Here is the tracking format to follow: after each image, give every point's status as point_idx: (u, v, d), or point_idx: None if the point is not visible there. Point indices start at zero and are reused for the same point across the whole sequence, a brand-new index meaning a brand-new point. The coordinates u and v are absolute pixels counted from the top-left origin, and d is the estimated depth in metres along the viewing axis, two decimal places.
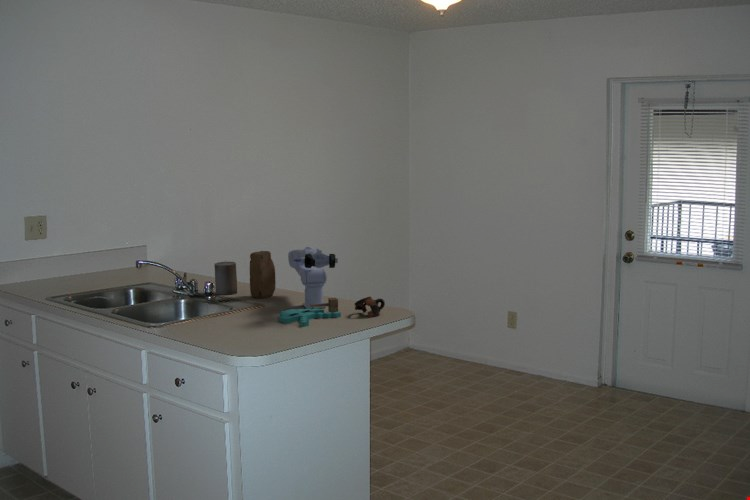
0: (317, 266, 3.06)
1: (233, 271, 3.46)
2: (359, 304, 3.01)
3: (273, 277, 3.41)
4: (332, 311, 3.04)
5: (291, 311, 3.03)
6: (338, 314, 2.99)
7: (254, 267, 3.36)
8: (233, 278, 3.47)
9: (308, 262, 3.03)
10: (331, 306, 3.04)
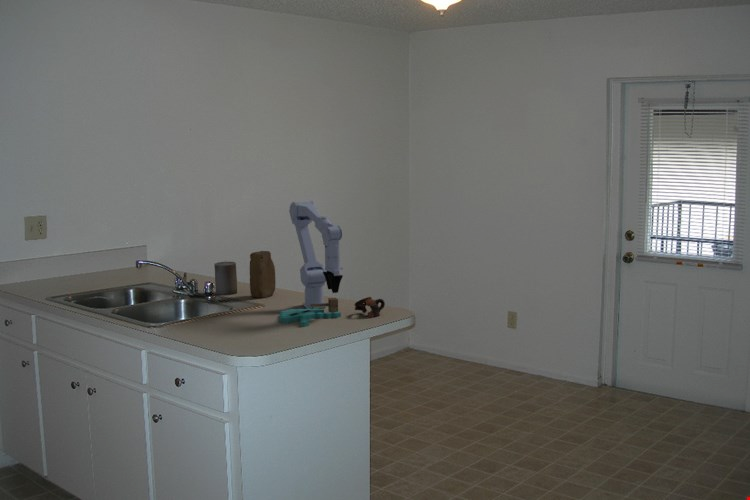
0: None
1: (233, 271, 3.46)
2: (359, 304, 3.00)
3: (273, 277, 3.41)
4: (332, 311, 3.04)
5: (291, 311, 3.03)
6: (338, 314, 2.99)
7: (254, 267, 3.36)
8: (233, 278, 3.47)
9: (334, 276, 2.99)
10: (331, 306, 3.04)
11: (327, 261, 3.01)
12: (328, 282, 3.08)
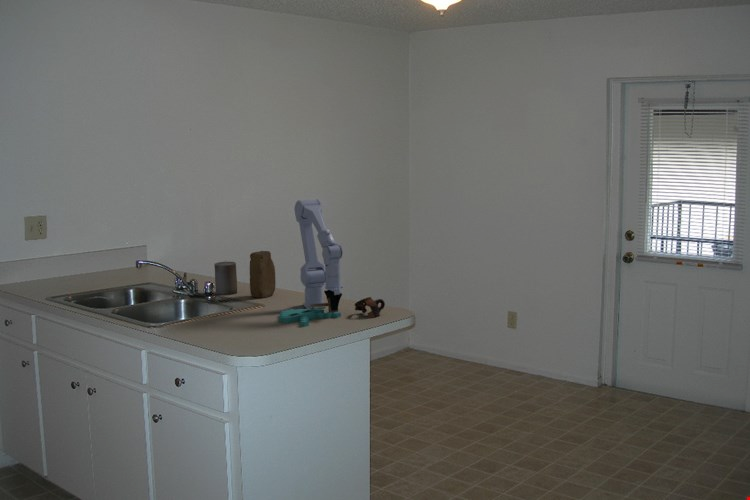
0: (327, 289, 3.03)
1: (233, 271, 3.46)
2: (359, 305, 3.00)
3: (273, 277, 3.41)
4: (332, 311, 3.04)
5: (291, 311, 3.03)
6: (338, 314, 2.99)
7: (254, 267, 3.36)
8: (233, 278, 3.47)
9: None
10: None
11: (327, 280, 3.02)
12: None
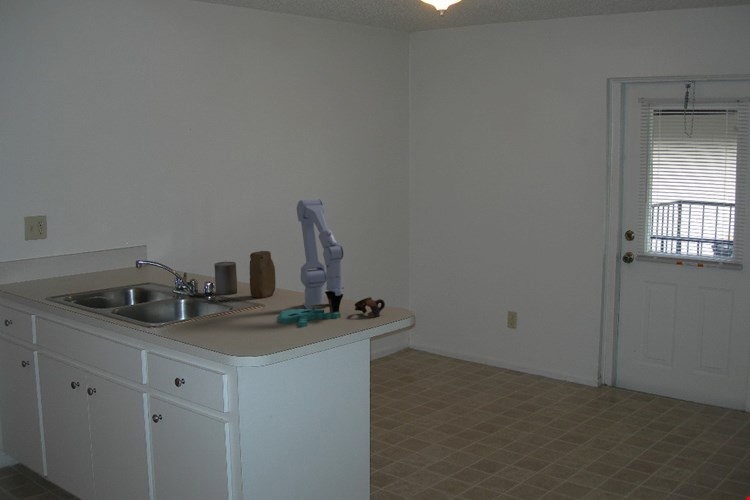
0: (328, 289, 3.02)
1: (233, 271, 3.46)
2: (359, 305, 2.99)
3: (273, 277, 3.41)
4: (333, 312, 3.02)
5: (291, 311, 3.02)
6: (338, 315, 2.98)
7: (254, 267, 3.36)
8: (233, 278, 3.47)
9: (334, 295, 3.00)
10: None
11: (328, 281, 3.00)
12: None
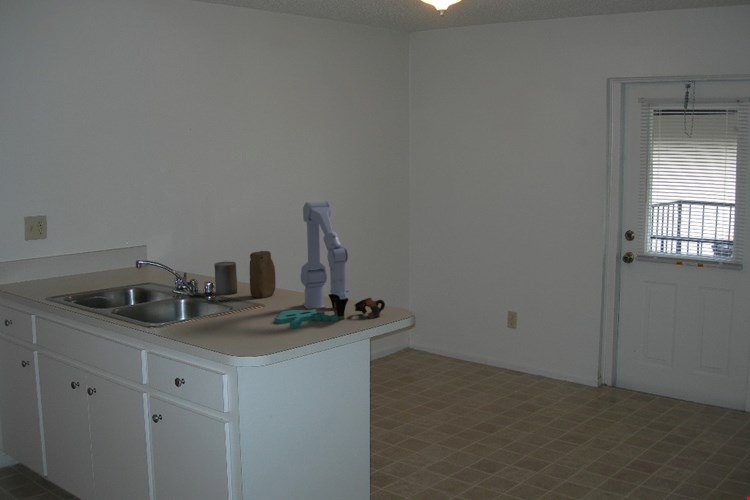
0: None
1: (233, 271, 3.46)
2: (359, 305, 2.98)
3: (273, 277, 3.41)
4: (338, 316, 2.95)
5: (291, 312, 3.02)
6: (335, 317, 2.94)
7: (254, 267, 3.36)
8: (233, 278, 3.47)
9: None
10: None
11: (333, 284, 2.93)
12: None
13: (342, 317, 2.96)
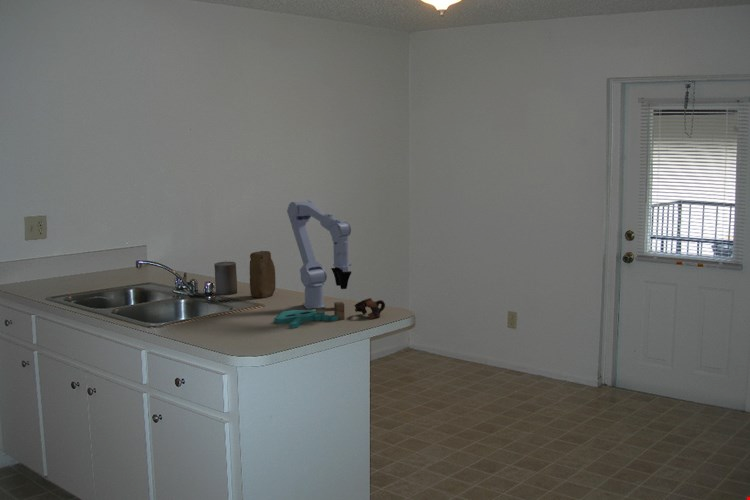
0: (335, 266, 3.03)
1: (233, 271, 3.46)
2: (359, 306, 2.97)
3: (273, 277, 3.41)
4: (338, 316, 2.95)
5: (291, 312, 3.02)
6: (335, 317, 2.94)
7: (254, 267, 3.36)
8: (233, 278, 3.47)
9: None
10: (337, 311, 2.95)
11: (336, 257, 3.02)
12: (336, 278, 3.08)
13: (342, 317, 2.96)
